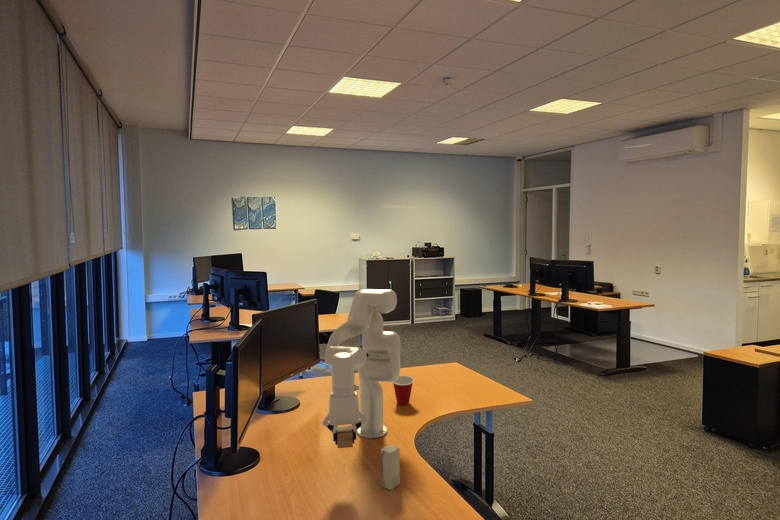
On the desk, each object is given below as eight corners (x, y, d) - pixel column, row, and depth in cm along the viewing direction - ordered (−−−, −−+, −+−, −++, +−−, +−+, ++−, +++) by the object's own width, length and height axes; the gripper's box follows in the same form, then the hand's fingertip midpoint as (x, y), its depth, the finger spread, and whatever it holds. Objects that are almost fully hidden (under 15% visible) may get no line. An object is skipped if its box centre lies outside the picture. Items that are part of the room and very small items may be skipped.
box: (390, 479, 161) (390, 443, 160) (400, 484, 158) (400, 447, 157) (380, 486, 156) (379, 449, 155) (390, 491, 154) (390, 453, 153)
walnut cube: (337, 440, 161) (336, 426, 160) (351, 439, 162) (351, 425, 161) (337, 448, 156) (337, 433, 155) (352, 447, 157) (352, 432, 156)
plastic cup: (389, 406, 224) (389, 382, 224) (394, 398, 235) (394, 374, 234) (411, 408, 222) (411, 383, 221) (416, 400, 232) (416, 376, 231)
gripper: (368, 384, 162) (369, 434, 164) (317, 387, 159) (319, 438, 161) (370, 392, 154) (371, 445, 156) (317, 396, 152) (319, 450, 154)
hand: (344, 441), depth 159 cm, fingers closed on walnut cube, 4 cm apart
